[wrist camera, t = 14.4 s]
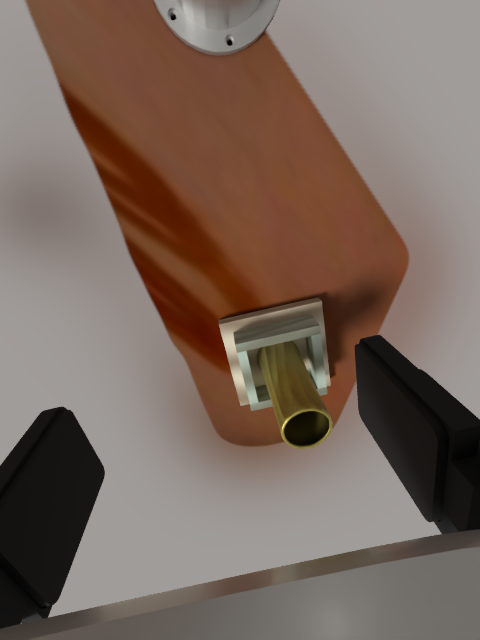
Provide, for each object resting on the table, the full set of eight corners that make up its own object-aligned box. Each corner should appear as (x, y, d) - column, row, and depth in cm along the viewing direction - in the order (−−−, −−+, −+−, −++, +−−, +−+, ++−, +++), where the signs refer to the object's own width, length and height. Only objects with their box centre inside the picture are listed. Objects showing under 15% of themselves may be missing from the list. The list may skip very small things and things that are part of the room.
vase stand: (218, 320, 42) (219, 336, 37) (318, 297, 41) (331, 310, 37) (239, 399, 47) (242, 422, 43) (327, 379, 47) (339, 400, 43)
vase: (307, 346, 43) (349, 416, 30) (285, 379, 45) (316, 458, 32) (269, 330, 41) (296, 397, 28) (249, 365, 43) (265, 443, 30)
